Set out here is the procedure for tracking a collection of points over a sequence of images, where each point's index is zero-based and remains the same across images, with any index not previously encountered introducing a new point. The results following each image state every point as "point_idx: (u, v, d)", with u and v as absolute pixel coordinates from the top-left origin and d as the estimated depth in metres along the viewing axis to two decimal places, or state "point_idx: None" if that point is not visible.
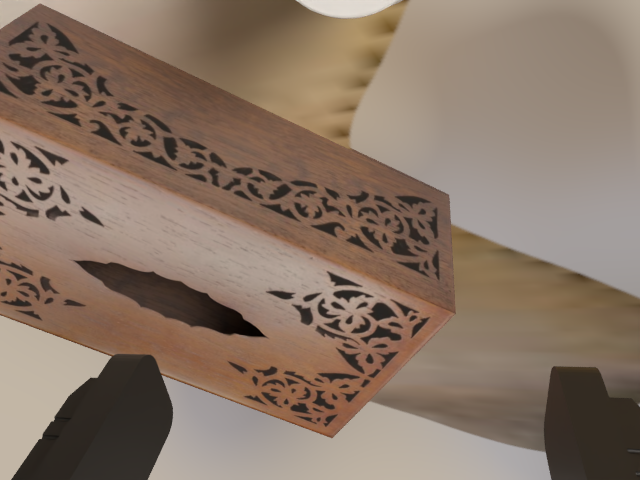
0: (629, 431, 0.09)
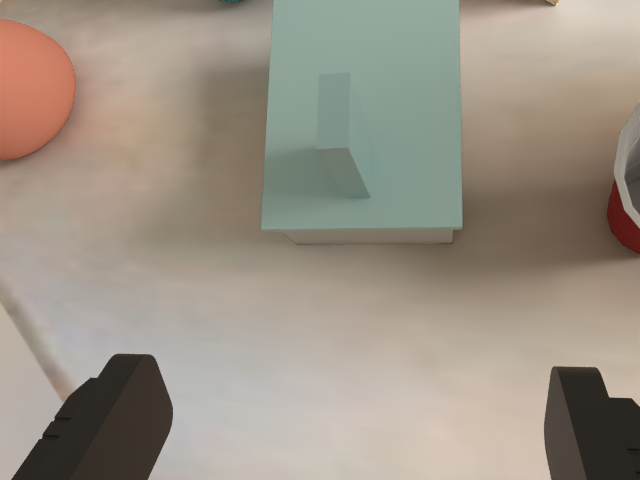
0: (629, 431, 0.09)
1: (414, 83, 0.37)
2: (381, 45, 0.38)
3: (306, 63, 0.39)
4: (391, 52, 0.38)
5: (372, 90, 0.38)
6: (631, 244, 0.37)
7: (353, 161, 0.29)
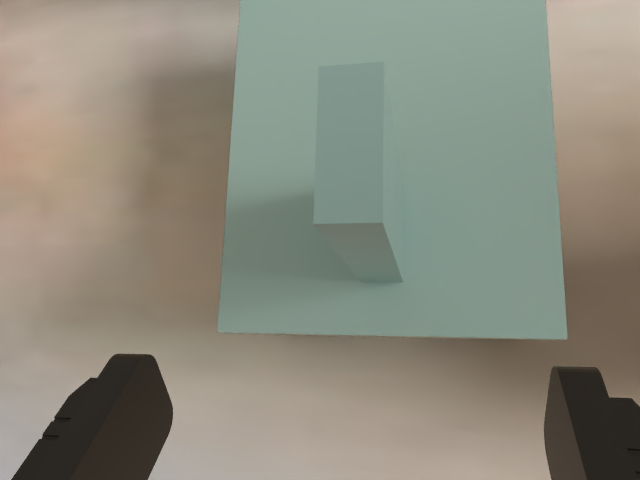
0: (629, 431, 0.09)
1: (473, 90, 0.22)
2: (416, 29, 0.23)
3: (294, 57, 0.24)
4: (433, 40, 0.23)
5: (403, 101, 0.23)
6: None
7: (387, 242, 0.15)
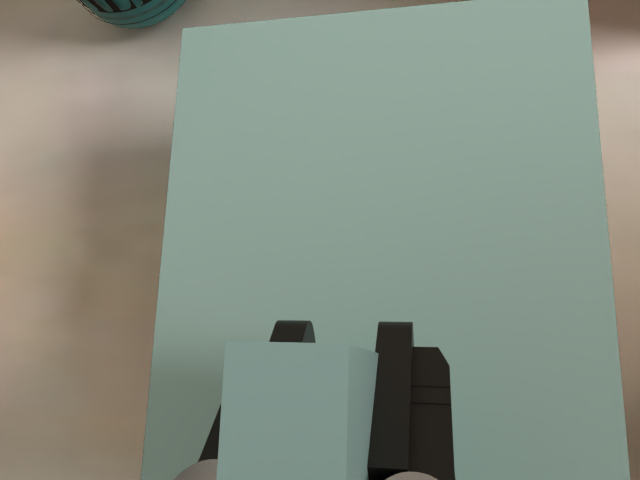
0: (427, 372, 0.11)
1: (495, 226, 0.16)
2: (414, 133, 0.17)
3: (247, 168, 0.18)
4: (438, 150, 0.17)
5: (395, 238, 0.16)
6: None
7: None
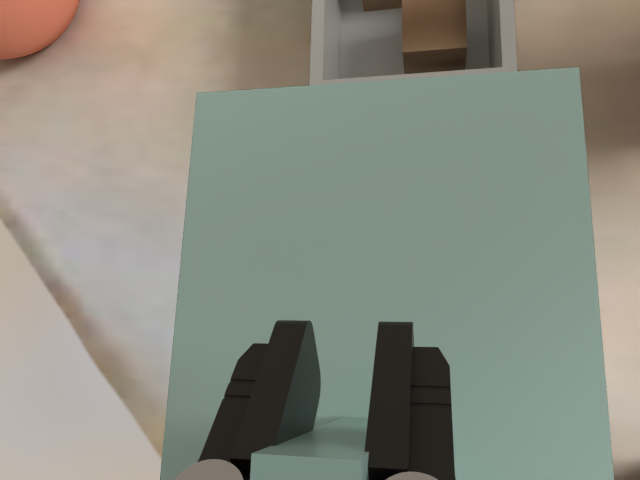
0: (427, 372, 0.11)
1: (492, 293, 0.17)
2: (416, 201, 0.18)
3: (257, 230, 0.19)
4: (439, 218, 0.18)
5: (398, 302, 0.17)
6: None
7: None
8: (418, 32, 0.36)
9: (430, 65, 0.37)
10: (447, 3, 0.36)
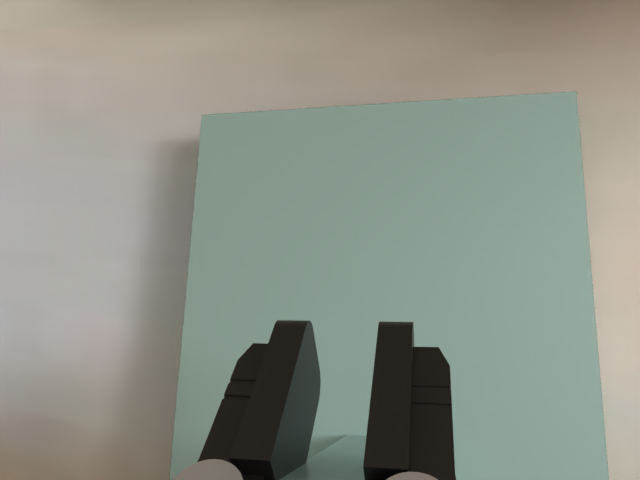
0: (427, 372, 0.11)
1: (491, 314, 0.17)
2: (417, 223, 0.18)
3: (262, 251, 0.19)
4: (439, 240, 0.18)
5: None
6: None
7: None
8: None
9: None
10: None
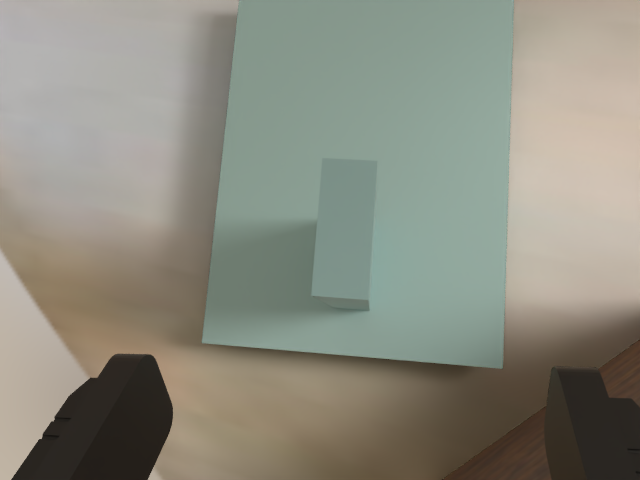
0: (630, 431, 0.09)
1: (442, 142, 0.25)
2: (397, 79, 0.26)
3: (283, 93, 0.26)
4: (411, 91, 0.26)
5: (380, 146, 0.26)
6: None
7: (367, 303, 0.18)
8: None
9: None
10: None
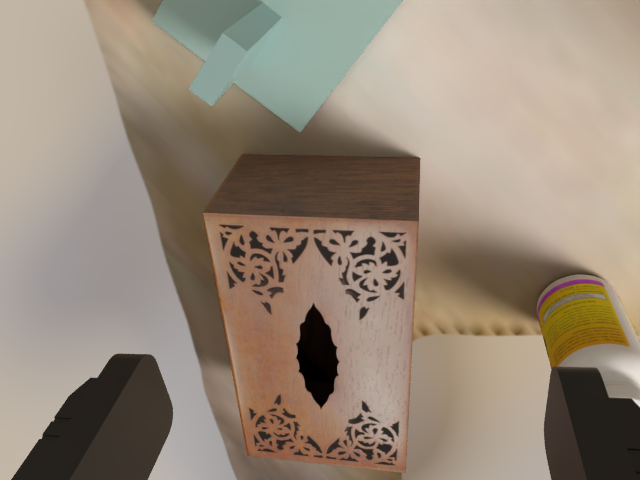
0: (629, 431, 0.09)
1: None
2: None
3: None
4: None
5: None
6: None
7: (221, 94, 0.34)
8: None
9: None
10: None
